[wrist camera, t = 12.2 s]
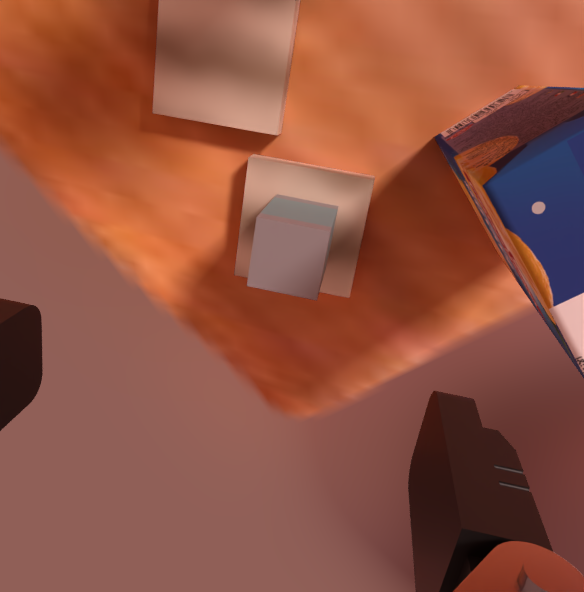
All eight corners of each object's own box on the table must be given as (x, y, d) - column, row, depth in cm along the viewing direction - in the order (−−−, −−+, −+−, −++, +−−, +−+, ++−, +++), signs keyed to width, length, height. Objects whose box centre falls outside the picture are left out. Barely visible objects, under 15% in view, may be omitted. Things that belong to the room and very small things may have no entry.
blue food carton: (497, 253, 45) (593, 393, 25) (433, 135, 43) (482, 185, 23) (580, 210, 43) (758, 325, 23) (518, 84, 41) (656, 88, 20)
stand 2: (253, 153, 45) (248, 157, 43) (374, 175, 45) (374, 179, 43) (239, 267, 49) (234, 275, 47) (350, 289, 48) (349, 298, 46)
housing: (277, 194, 44) (256, 216, 37) (338, 206, 44) (330, 231, 36) (267, 253, 46) (246, 285, 39) (326, 265, 46) (316, 300, 38)
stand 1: (170, -28, 41) (160, -33, 40) (301, -7, 41) (297, -11, 39) (161, 111, 45) (152, 113, 43) (281, 133, 44) (277, 135, 43)
